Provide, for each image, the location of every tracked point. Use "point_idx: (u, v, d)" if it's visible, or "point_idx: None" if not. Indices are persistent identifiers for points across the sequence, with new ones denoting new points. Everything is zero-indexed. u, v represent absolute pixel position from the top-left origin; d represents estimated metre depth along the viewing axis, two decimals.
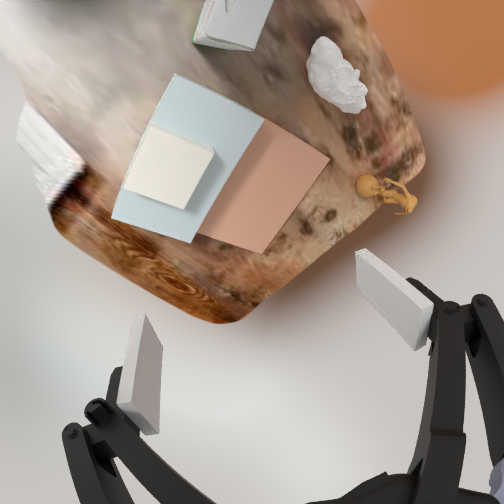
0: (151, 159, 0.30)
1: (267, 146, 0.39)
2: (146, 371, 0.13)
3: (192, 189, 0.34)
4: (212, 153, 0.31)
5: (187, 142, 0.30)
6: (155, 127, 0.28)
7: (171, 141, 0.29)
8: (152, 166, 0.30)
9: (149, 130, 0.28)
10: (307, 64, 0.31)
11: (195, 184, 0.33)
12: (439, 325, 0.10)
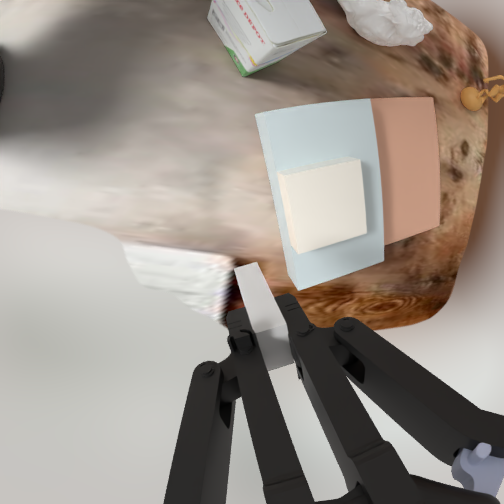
0: (308, 206, 0.27)
1: (384, 123, 0.31)
2: None
3: (363, 208, 0.28)
4: (358, 160, 0.26)
5: (330, 166, 0.26)
6: (289, 173, 0.26)
7: (315, 176, 0.26)
8: (313, 212, 0.27)
9: (286, 180, 0.26)
10: (352, 25, 0.24)
11: (362, 201, 0.28)
12: (299, 352, 0.11)
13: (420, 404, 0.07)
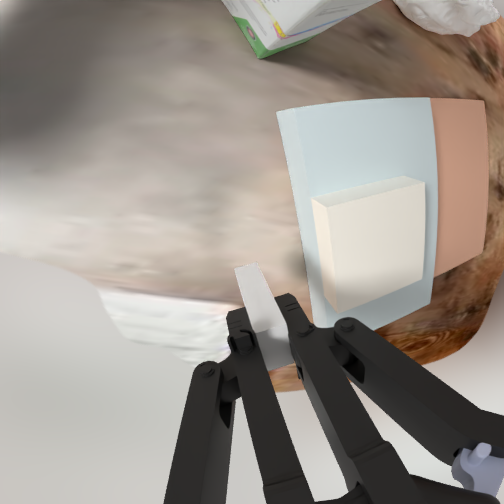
0: (356, 250, 0.18)
1: (436, 130, 0.22)
2: None
3: (422, 248, 0.19)
4: (422, 184, 0.17)
5: (388, 192, 0.17)
6: (333, 203, 0.17)
7: (368, 207, 0.17)
8: (362, 258, 0.19)
9: (329, 214, 0.17)
10: (399, 3, 0.15)
11: (422, 239, 0.19)
12: (299, 352, 0.11)
13: (420, 403, 0.07)
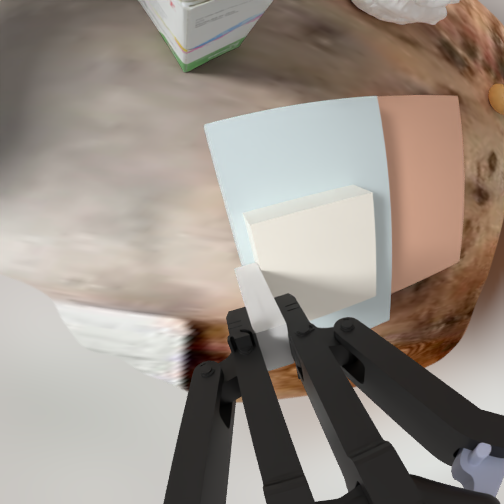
0: (289, 268, 0.18)
1: (395, 131, 0.22)
2: None
3: (373, 263, 0.19)
4: (369, 194, 0.17)
5: (325, 206, 0.17)
6: (259, 220, 0.17)
7: (300, 223, 0.17)
8: (298, 276, 0.18)
9: (254, 231, 0.16)
10: None
11: (373, 254, 0.19)
12: (299, 352, 0.11)
13: (420, 403, 0.07)
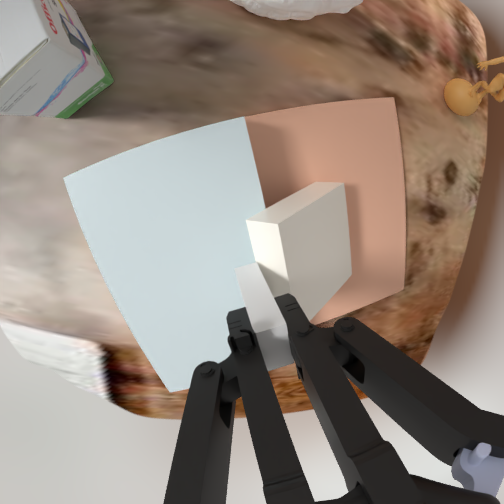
0: (304, 263, 0.18)
1: (296, 150, 0.21)
2: None
3: (348, 245, 0.22)
4: (342, 185, 0.20)
5: (321, 198, 0.18)
6: (279, 219, 0.16)
7: (308, 216, 0.18)
8: (310, 269, 0.19)
9: (280, 230, 0.16)
10: None
11: (348, 236, 0.22)
12: (299, 352, 0.11)
13: (420, 403, 0.07)
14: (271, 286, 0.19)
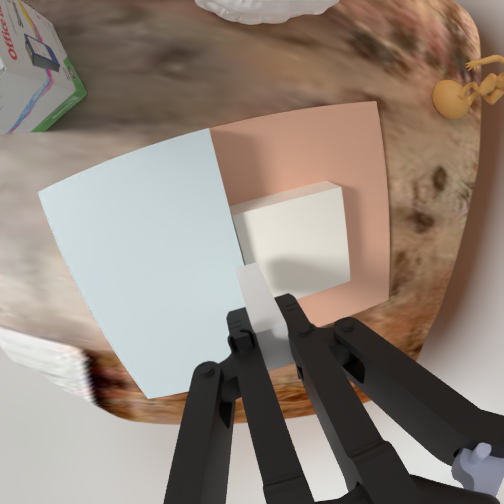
0: (268, 253, 0.21)
1: (269, 159, 0.21)
2: None
3: (345, 250, 0.22)
4: (338, 189, 0.20)
5: (297, 199, 0.20)
6: (240, 211, 0.20)
7: (276, 214, 0.20)
8: (276, 260, 0.21)
9: (236, 221, 0.19)
10: (199, 4, 0.14)
11: (344, 242, 0.22)
12: (299, 352, 0.11)
13: (420, 403, 0.07)
14: (244, 264, 0.23)
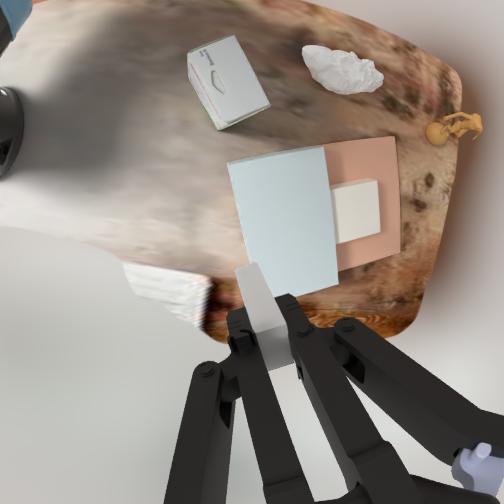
0: (342, 211, 0.39)
1: (342, 164, 0.39)
2: None
3: (378, 214, 0.40)
4: (375, 181, 0.38)
5: (357, 185, 0.38)
6: (330, 189, 0.38)
7: (347, 191, 0.38)
8: (345, 216, 0.39)
9: None
10: (314, 78, 0.33)
11: (378, 209, 0.40)
12: (299, 352, 0.11)
13: (420, 403, 0.07)
14: None
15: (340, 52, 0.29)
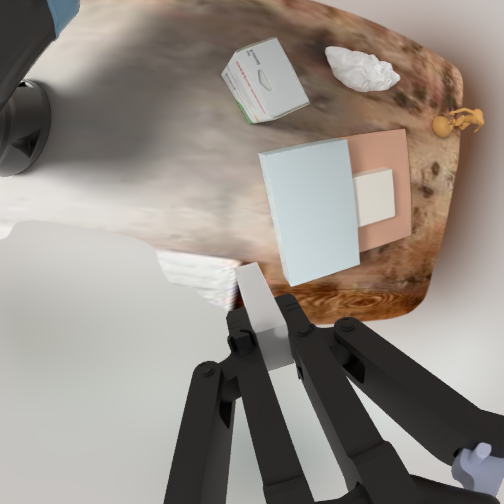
0: (362, 198, 0.42)
1: (360, 155, 0.42)
2: None
3: (393, 200, 0.43)
4: (390, 170, 0.41)
5: (375, 173, 0.41)
6: (352, 177, 0.41)
7: (366, 179, 0.41)
8: (365, 201, 0.42)
9: None
10: (336, 76, 0.35)
11: (392, 195, 0.43)
12: (299, 352, 0.11)
13: (420, 403, 0.07)
14: None
15: (360, 54, 0.31)
